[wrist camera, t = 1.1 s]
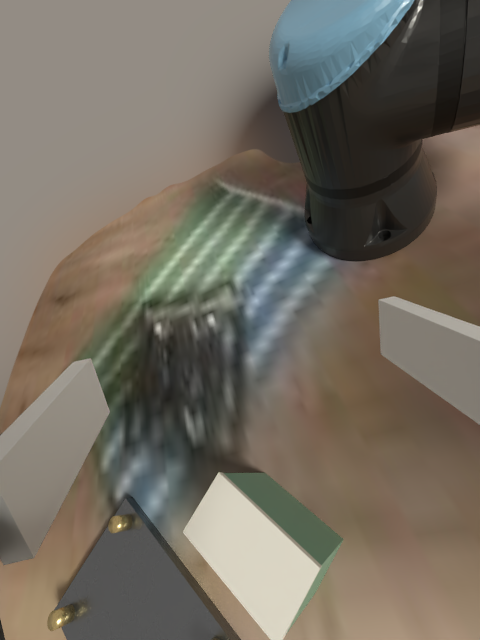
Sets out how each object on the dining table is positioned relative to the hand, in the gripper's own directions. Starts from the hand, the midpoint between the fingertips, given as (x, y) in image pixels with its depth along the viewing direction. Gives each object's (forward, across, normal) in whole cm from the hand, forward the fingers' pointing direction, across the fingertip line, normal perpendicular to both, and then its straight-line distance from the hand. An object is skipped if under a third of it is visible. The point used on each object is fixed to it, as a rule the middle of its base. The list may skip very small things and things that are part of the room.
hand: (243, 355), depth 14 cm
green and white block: (+9, +2, -23) cm, 25 cm away
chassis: (+10, -15, -31) cm, 36 cm away
